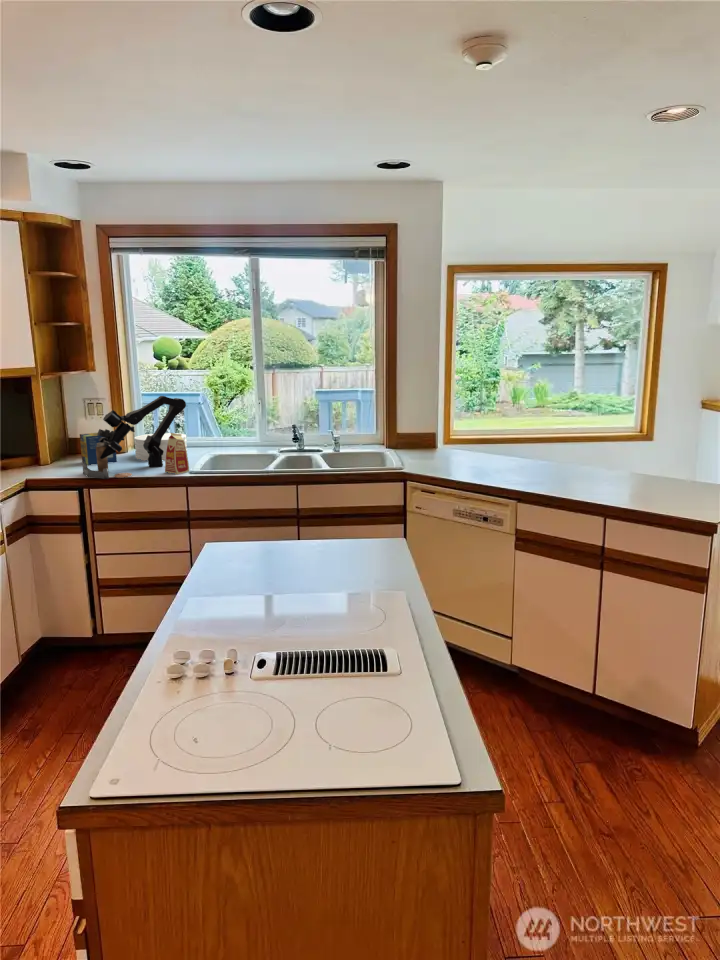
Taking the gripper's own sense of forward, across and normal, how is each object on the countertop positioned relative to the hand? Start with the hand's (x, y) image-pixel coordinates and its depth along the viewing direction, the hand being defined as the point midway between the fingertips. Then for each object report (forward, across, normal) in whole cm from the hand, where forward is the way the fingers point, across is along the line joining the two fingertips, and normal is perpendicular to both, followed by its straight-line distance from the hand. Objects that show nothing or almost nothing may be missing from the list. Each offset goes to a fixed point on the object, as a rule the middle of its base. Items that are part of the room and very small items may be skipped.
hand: (99, 457), depth 313 cm
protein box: (-1, -30, +12) cm, 32 cm away
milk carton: (-16, +22, +27) cm, 38 cm away
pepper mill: (+4, 0, +6) cm, 7 cm away
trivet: (+1, +15, +10) cm, 18 cm away
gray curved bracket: (+8, +6, +2) cm, 11 cm away
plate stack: (-24, -26, +36) cm, 50 cm away
